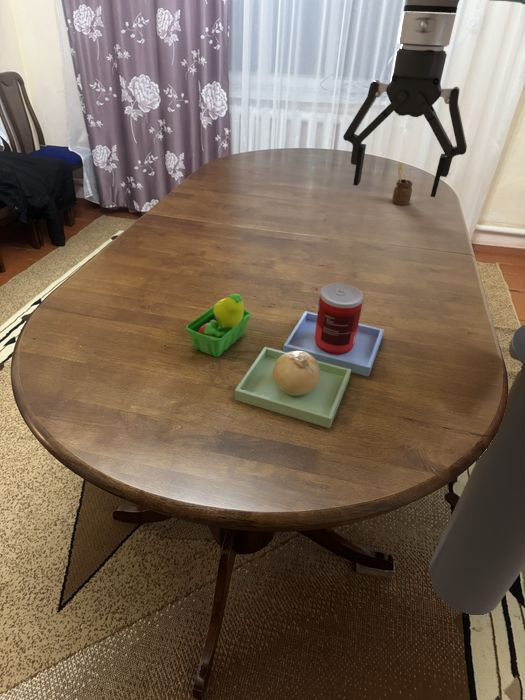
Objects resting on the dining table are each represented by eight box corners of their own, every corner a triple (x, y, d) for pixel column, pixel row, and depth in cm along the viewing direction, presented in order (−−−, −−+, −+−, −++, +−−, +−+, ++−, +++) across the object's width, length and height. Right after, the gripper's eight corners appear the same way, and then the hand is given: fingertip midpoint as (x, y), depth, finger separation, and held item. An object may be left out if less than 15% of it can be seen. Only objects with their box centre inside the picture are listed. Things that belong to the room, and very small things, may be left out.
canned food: (339, 328, 94) (347, 279, 87) (362, 350, 88) (372, 299, 81) (306, 336, 91) (311, 287, 84) (328, 359, 85) (335, 308, 79)
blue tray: (381, 338, 92) (383, 329, 91) (368, 377, 83) (370, 367, 81) (304, 319, 97) (305, 311, 96) (282, 354, 87) (283, 345, 86)
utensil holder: (402, 206, 155) (410, 169, 148) (387, 201, 159) (394, 164, 152) (412, 203, 158) (421, 166, 151) (398, 198, 162) (405, 162, 155)
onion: (262, 386, 79) (263, 353, 74) (291, 365, 83) (294, 332, 79) (299, 409, 74) (303, 375, 70) (327, 385, 79) (333, 352, 75)
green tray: (349, 378, 82) (351, 369, 81) (329, 428, 72) (331, 419, 71) (264, 355, 87) (264, 346, 85) (234, 399, 77) (234, 390, 75)
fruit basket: (220, 322, 95) (218, 272, 88) (257, 335, 92) (258, 285, 85) (185, 350, 87) (181, 297, 80) (224, 366, 84) (223, 312, 77)
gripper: (336, 44, 71) (321, 184, 84) (511, 55, 64) (466, 206, 77) (347, 42, 77) (332, 173, 90) (510, 51, 70) (468, 193, 83)
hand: (394, 189), depth 83 cm, fingers open, 13 cm apart
